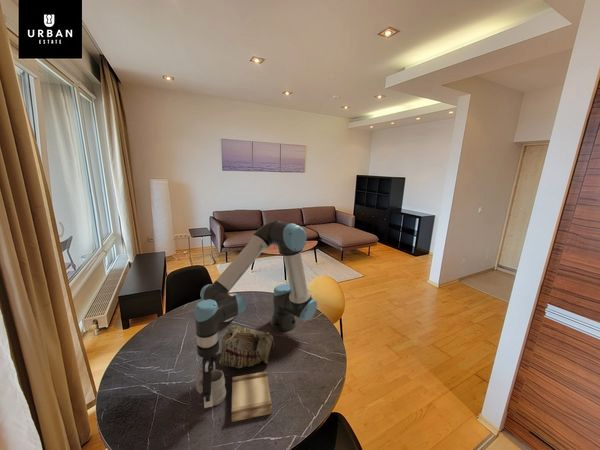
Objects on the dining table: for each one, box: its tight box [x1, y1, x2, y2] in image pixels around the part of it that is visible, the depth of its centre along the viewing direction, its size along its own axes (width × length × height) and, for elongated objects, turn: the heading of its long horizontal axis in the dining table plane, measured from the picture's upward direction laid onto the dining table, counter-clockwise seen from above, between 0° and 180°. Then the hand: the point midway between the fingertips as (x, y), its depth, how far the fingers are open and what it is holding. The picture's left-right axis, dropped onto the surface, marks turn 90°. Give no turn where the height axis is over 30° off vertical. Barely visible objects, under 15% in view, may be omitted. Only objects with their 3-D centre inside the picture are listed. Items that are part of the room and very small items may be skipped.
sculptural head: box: [218, 324, 275, 369], centre depth 113 cm, size 17×21×25 cm
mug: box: [195, 367, 227, 407], centre depth 94 cm, size 8×12×12 cm, turn 83°
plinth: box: [231, 370, 273, 423], centre depth 94 cm, size 14×16×4 cm
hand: (210, 390), depth 94 cm, fingers open, 13 cm apart
